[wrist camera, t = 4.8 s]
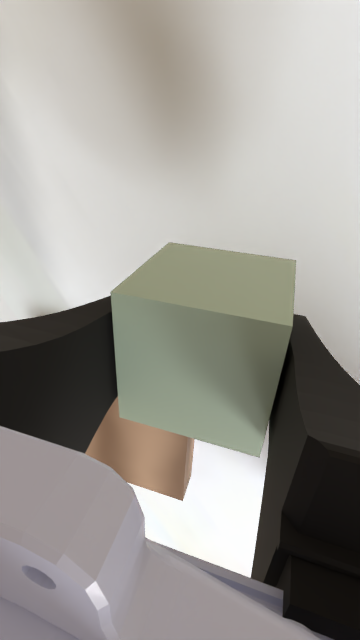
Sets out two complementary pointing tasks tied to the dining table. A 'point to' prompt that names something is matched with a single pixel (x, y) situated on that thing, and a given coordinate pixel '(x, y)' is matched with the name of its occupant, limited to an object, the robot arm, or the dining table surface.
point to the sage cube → (203, 343)
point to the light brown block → (143, 454)
